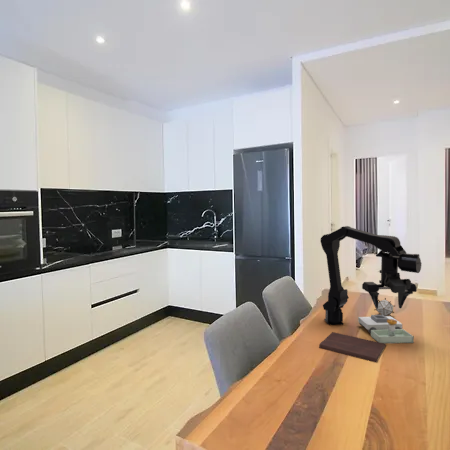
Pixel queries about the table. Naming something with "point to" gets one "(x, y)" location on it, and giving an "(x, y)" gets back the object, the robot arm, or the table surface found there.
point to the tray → (399, 337)
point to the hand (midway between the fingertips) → (388, 308)
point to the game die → (385, 307)
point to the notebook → (353, 346)
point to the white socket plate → (377, 322)
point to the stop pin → (391, 327)
